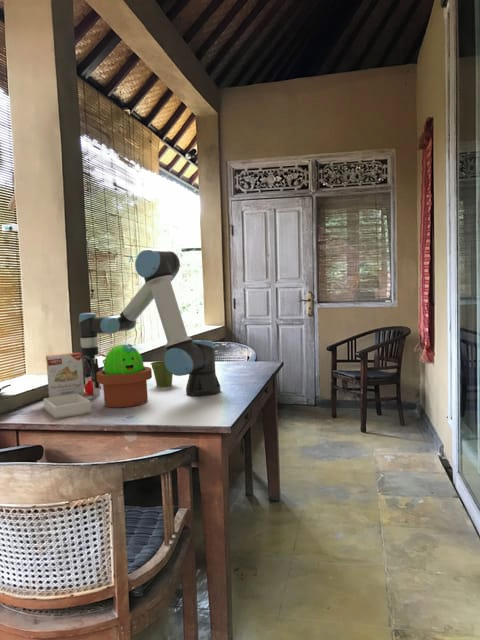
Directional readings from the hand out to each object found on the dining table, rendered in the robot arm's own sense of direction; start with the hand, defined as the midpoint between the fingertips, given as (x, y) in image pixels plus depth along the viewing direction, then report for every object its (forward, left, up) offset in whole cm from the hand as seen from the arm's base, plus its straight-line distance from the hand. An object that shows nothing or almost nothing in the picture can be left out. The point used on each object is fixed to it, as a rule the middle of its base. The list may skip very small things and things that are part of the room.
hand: (93, 393), depth 232 cm
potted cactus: (-31, -5, 0) cm, 31 cm away
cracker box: (-10, +14, 0) cm, 17 cm away
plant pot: (-8, -32, 0) cm, 33 cm away
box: (-27, +18, 0) cm, 32 cm away
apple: (0, 0, 0) cm, 0 cm away
